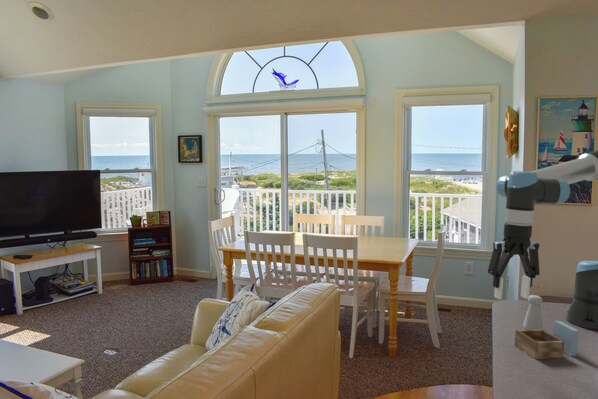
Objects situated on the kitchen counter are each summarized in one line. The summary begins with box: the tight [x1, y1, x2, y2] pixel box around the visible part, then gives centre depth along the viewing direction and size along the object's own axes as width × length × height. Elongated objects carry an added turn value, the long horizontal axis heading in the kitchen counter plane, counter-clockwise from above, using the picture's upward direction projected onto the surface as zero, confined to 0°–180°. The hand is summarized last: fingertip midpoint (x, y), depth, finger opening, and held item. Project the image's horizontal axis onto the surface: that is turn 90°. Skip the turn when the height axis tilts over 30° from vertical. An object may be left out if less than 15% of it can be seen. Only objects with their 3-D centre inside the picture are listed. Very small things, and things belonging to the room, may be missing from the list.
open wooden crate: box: [513, 328, 564, 360], centre depth 141 cm, size 10×10×5 cm
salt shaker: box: [522, 294, 543, 330], centre depth 155 cm, size 6×6×13 cm
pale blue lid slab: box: [552, 320, 580, 357], centre depth 142 cm, size 2×8×8 cm, turn 10°
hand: (511, 297), depth 137 cm, fingers open, 8 cm apart
